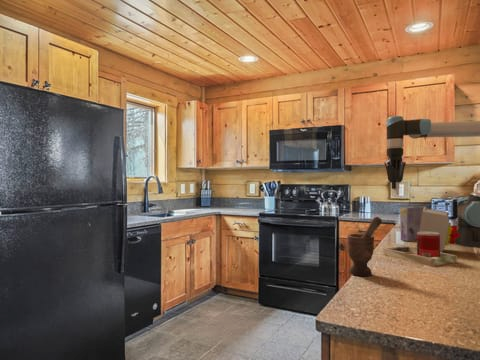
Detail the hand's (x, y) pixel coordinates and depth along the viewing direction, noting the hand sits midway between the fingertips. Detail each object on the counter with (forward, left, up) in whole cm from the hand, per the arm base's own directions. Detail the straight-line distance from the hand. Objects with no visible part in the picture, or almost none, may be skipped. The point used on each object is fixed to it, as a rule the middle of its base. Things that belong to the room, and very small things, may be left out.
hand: (395, 195), depth 173 cm
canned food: (+17, +30, -24) cm, 42 cm away
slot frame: (+17, +26, -24) cm, 39 cm away
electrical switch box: (-2, +21, -24) cm, 32 cm away
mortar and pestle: (+55, +35, -24) cm, 70 cm away
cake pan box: (-21, -6, -24) cm, 32 cm away
